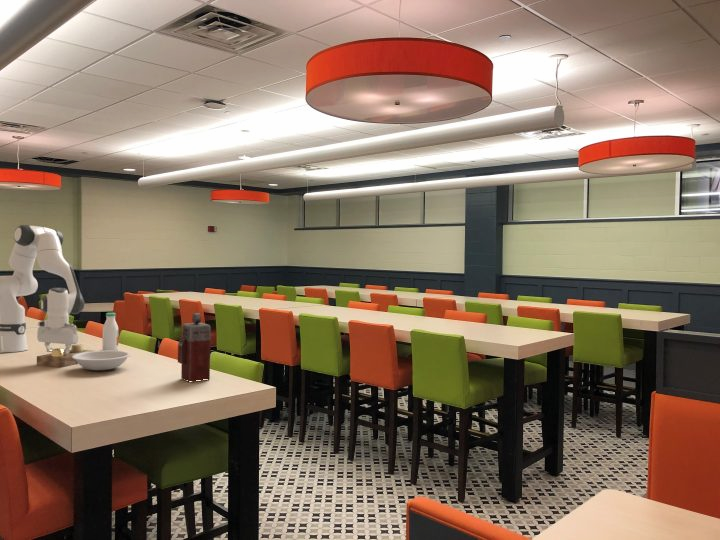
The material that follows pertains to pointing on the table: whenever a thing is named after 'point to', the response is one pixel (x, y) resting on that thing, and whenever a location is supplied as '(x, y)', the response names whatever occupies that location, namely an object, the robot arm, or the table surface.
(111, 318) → the milk bottle
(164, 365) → the table surface
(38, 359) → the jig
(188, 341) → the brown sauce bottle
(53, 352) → the bushing
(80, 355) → the soup bowl
